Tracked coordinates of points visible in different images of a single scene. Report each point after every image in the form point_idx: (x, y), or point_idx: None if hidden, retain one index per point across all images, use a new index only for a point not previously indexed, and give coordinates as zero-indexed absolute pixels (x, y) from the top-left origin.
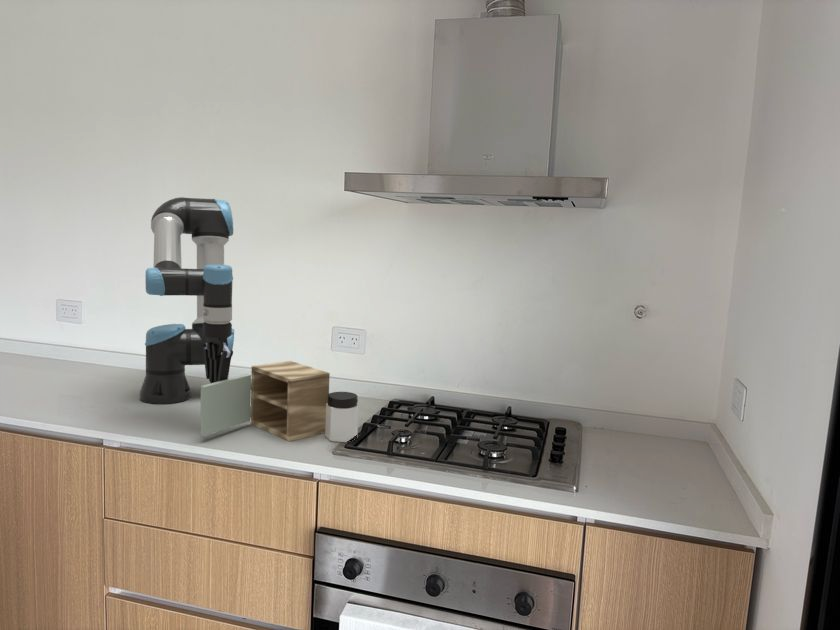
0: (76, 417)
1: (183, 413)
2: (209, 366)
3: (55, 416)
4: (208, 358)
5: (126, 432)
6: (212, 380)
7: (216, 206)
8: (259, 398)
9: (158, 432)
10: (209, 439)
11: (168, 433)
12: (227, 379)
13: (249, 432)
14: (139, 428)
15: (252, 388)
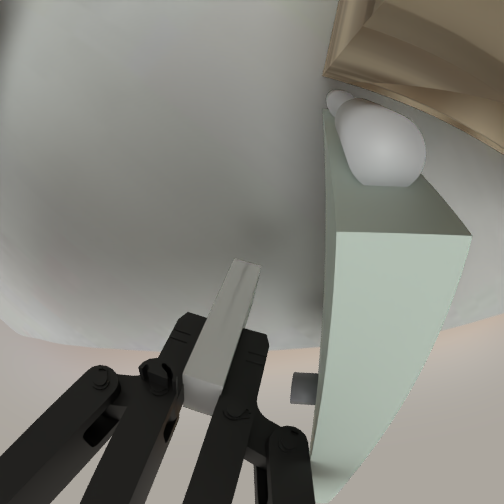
0: (34, 313)
1: (57, 174)
2: (76, 462)
3: (27, 320)
4: (42, 500)
5: (137, 343)
6: (178, 419)
7: None
8: (455, 120)
9: (173, 321)
10: None
11: None
12: (319, 464)
13: None
14: (123, 318)
15: (358, 76)
